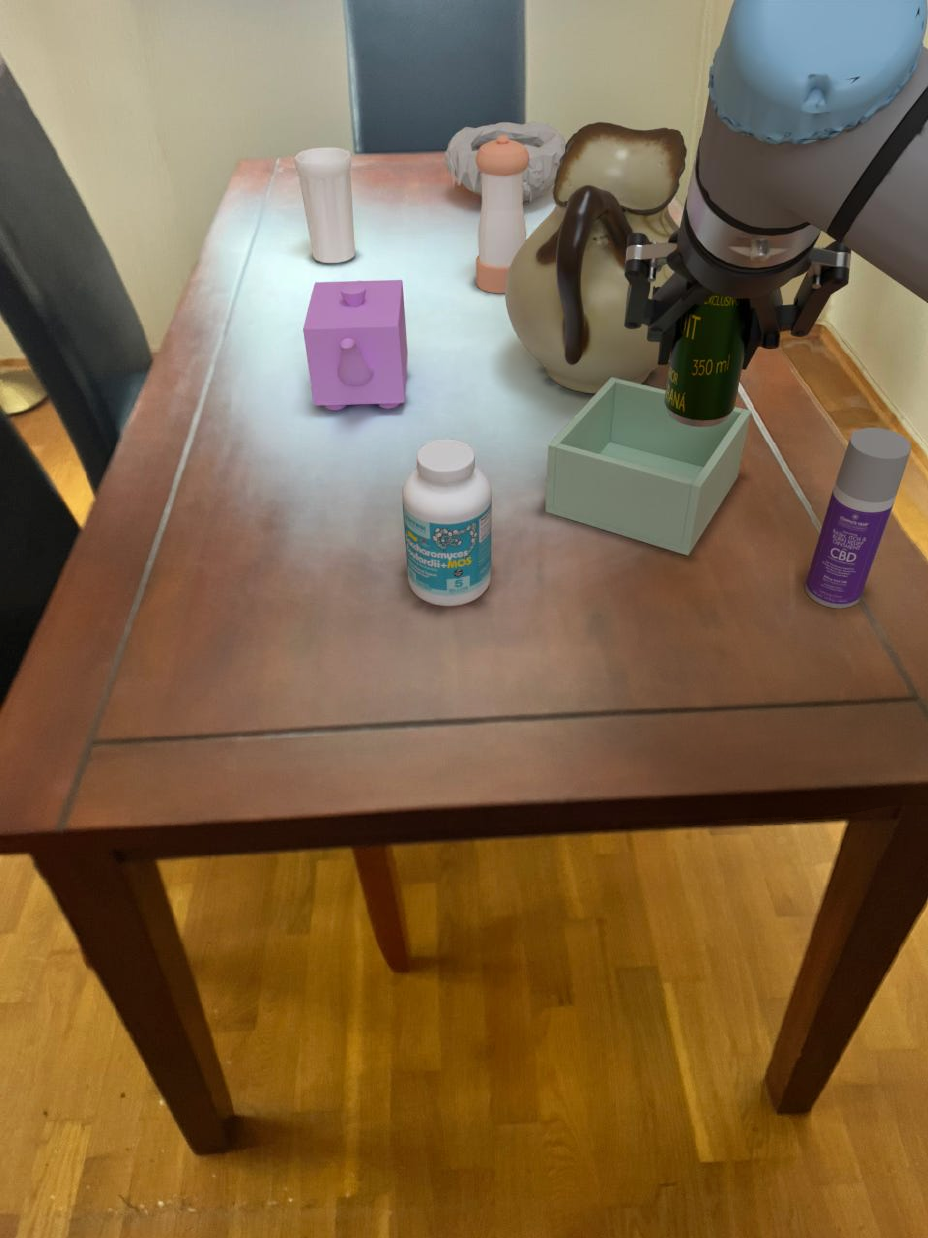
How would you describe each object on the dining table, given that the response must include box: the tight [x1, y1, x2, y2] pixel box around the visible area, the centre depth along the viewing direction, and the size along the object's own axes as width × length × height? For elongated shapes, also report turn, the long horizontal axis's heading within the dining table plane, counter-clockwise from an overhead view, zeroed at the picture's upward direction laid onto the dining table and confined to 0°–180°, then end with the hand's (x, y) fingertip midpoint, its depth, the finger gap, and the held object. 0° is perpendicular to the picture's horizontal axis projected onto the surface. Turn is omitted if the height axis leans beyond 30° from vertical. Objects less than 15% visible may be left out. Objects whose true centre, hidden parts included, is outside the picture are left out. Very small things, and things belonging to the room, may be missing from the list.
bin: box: [545, 377, 752, 556], centre depth 90 cm, size 15×15×8 cm
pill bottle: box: [401, 438, 493, 607], centre depth 78 cm, size 8×7×14 cm
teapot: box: [302, 279, 409, 411], centre depth 104 cm, size 20×10×12 cm, turn 1°
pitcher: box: [504, 121, 688, 395], centre depth 102 cm, size 22×24×25 cm
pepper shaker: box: [475, 135, 530, 294], centre depth 125 cm, size 7×7×19 cm
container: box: [804, 427, 912, 609], centre depth 76 cm, size 5×5×15 cm
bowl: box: [444, 121, 567, 203], centre depth 154 cm, size 21×20×10 cm
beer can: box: [664, 294, 754, 427], centre depth 68 cm, size 5×5×12 cm
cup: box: [293, 146, 356, 264], centre depth 135 cm, size 8×8×14 cm
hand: (703, 350), depth 73 cm, fingers closed on beer can, 5 cm apart
